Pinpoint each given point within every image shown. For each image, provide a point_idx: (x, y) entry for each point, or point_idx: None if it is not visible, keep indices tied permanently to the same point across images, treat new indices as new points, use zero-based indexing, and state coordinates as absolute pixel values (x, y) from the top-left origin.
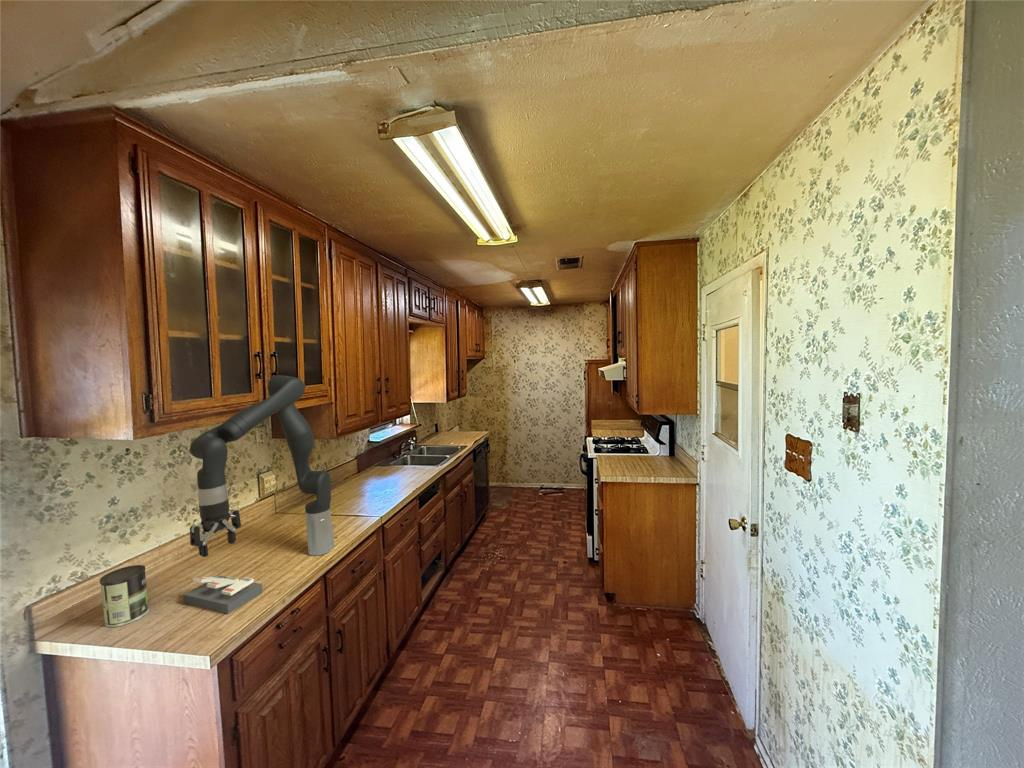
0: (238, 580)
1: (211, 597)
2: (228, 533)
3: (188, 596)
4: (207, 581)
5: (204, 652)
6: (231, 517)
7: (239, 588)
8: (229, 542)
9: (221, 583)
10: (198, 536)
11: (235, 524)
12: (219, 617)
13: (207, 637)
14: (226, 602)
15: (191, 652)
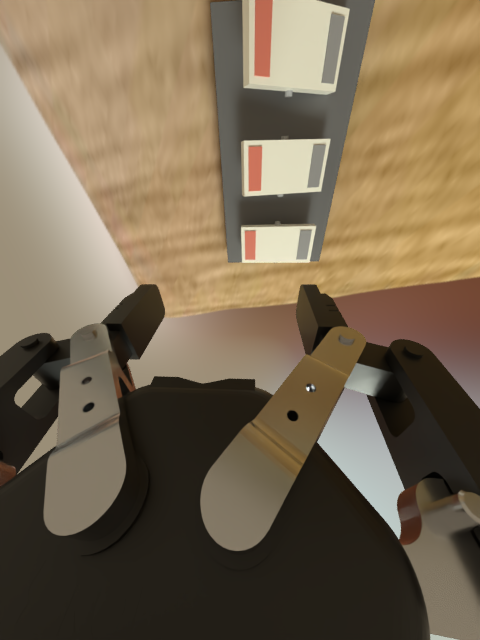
0: (316, 191)
1: (236, 180)
2: (313, 333)
3: (214, 56)
4: (270, 89)
5: None
6: (405, 497)
7: (266, 261)
8: (301, 294)
9: (264, 191)
10: (27, 442)
11: (391, 388)
12: (215, 247)
13: (173, 284)
14: (233, 251)
15: None
